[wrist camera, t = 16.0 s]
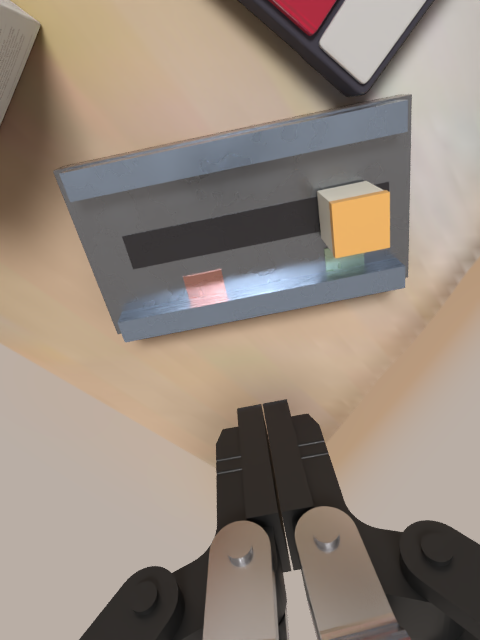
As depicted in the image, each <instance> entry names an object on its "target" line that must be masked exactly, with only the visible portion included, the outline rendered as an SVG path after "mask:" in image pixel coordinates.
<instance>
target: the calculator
mask: <svg viewBox="0 0 480 640" xmlns="http://www.w3.org/2000/svg"><path fill="white" fill-rule="evenodd" d="M238 1H239V2H240V3H242V4H243V5H244V6H245V7H246V8H247V9H248V10H250V11H251V12H252V13H253V14H254V15H255V16H256V17H258V18H259V19H260V20H261V21H262V22H263V23H264V24H266V25H267V26H268V27H269V28H270V29H271V30H272V31H274V32H275V33H276V34H277V35H278V36H279V37H280V38H282V39H283V40H284V41H285V42H286V43H287V44H289V45H290V46H291V47H292V48H293V49H294V50H295V51H297V52H298V53H299V54H300V56H301V57H302V58H303V59H304V60H305V61H306V62H307V63H309V64H310V65H311V66H312V67H313V68H314V69H315V70H316V71H318V72H319V73H320V74H321V75H322V76H323V77H324V78H325V79H327V80H328V81H329V82H330V83H331V84H332V85H333V86H334V87H336V88H337V89H338V90H339V91H340V92H341V93H342V94H344V95H345V96H347V97H350V96H358V95H364V94H366V93H367V92H368V91H369V90H370V88H371V87H372V85H373V84H374V83H375V81H376V80H377V79H378V77H379V76H380V75H381V73H382V72H383V70H384V69H385V68H386V66H387V65H388V64H389V62H390V61H391V59H392V58H393V57H394V55H395V54H396V53H397V51H398V50H399V48H400V47H401V46H402V44H403V43H404V42H405V40H406V39H407V37H408V36H409V35H410V33H411V32H412V31H413V29H414V28H415V26H416V25H417V24H418V22H419V21H420V20H421V18H422V17H423V15H424V14H425V13H426V11H427V10H428V9H429V7H430V6H431V4H432V3H433V2H434V0H238Z"/></svg>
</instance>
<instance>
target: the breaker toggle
mask: <svg viewBox="0 0 480 640" xmlns="http://www.w3.org/2000/svg"><path fill="white" fill-rule="evenodd" d="M317 197H318V208H319V219H320V230H321V239H322V240H323V241H324V243H325V244H326V245H327V247H328V248H329V249H330V250H331V252H332V253H333V256H334V257H335V259H336V258H341V257H346V256H351V255H356V254H361V253H366V252H371V251H376V250H381V249H386V248H390V192H389V191H387V190H383V189H381V188H379V187H377V186H375V185H373V184H371V183H370V182H368V181H363V182H358V183H353V184H348V185H344V186H339V187H334V188H329V189H324V190H319V191H317Z"/></svg>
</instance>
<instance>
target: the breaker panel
mask: <svg viewBox="0 0 480 640" xmlns="http://www.w3.org/2000/svg"><path fill="white" fill-rule="evenodd" d="M411 103H412V95H395V96H391V97H386V98H381V99H376V100H372V101H367V102H362V103H358V104H353V105H348V106H344V107H339V108H334V109H329V110H325V111H320V112H315V113H311V114H306V115H301V116H297V117H292V118H287V119H283V120H278V121H273V122H268V123H264V124H259V125H254V126H250V127H245V128H240V129H236V130H231V131H226V132H221V133H217V134H212V135H207V136H203V137H198V138H193V139H189V140H184V141H179V142H174V143H170V144H165V145H160V146H156V147H151V148H146V149H142V150H137V151H132V152H128V153H123V154H118V155H113V156H109V157H104V158H99V159H95V160H90V161H85V162H81V163H76V164H71V165H66V166H62V167H60V168H58V169H56V170H54V171H53V172H54V175H55V177H56V180H57V182H58V185H59V187H60V190H61V192H62V195H63V198H64V200H65V203H66V205H67V208H68V210H69V213H70V215H71V218H72V220H73V223H74V225H75V228H76V230H77V233H78V235H79V238H80V240H81V243H82V245H83V248H84V250H85V253H86V255H87V258H88V260H89V263H90V265H91V268H92V271H93V273H94V276H95V278H96V281H97V283H98V286H99V288H100V291H101V293H102V296H103V298H104V301H105V303H106V306H107V308H108V311H109V313H110V316H111V318H112V321H113V323H114V326H115V328H116V331H117V333H118V334H121V333H122V336H123V338H124V341H125V342H130V341H135V340H140V339H145V338H150V337H155V336H161V335H166V334H171V333H176V332H181V331H186V330H191V329H196V328H201V327H207V326H212V325H217V324H222V323H227V322H232V321H237V320H242V319H248V318H253V317H258V316H263V315H268V314H273V313H278V312H283V311H288V310H294V309H299V308H304V307H309V306H314V305H319V304H324V303H329V302H335V301H340V300H345V299H350V298H355V297H360V296H365V295H370V294H375V293H381V292H386V291H391V290H396V289H401V288H405V278H406V277H408V251H409V202H410V152H411ZM363 181H368V182H370V183H371V184H373V185H375V186H377V187H379V188H381V189H383V190H387V191H389V192H390V248H386V249H381V250H376V251H371V252H366V253H361V254H356V255H351V256H346V257H341V258H336V259H335V257H334V256H333V253H332V252H331V250H330V249H329V248H328V247H327V245H326V244H325V243H324V241H323V240H322V239H321V230H320V219H319V208H318V197H317V191H319V190H324V189H329V188H334V187H339V186H344V185H348V184H353V183H358V182H363Z"/></svg>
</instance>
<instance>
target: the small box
mask: <svg viewBox="0 0 480 640" xmlns="http://www.w3.org/2000/svg"><path fill="white" fill-rule="evenodd" d="M39 28H40V23H39V22H38V21H37V20H35V19H34V18H33V17H31V16H30V15H29V14H27V13H26V12H25V11H23V10H22V9H21V8H20V7H18V6H17V5H16V4H14V3H13V2H12V1H10V0H0V125H1V122H2V120H3V118H4V115H5V113H6V110H7V108H8V105H9V103H10V101H11V98H12V96H13V93H14V91H15V88H16V86H17V83H18V81H19V78H20V76H21V74H22V71H23V69H24V66H25V64H26V61H27V59H28V56H29V54H30V51H31V49H32V46H33V44H34V41H35V38H36V36H37V33H38V31H39Z"/></svg>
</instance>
